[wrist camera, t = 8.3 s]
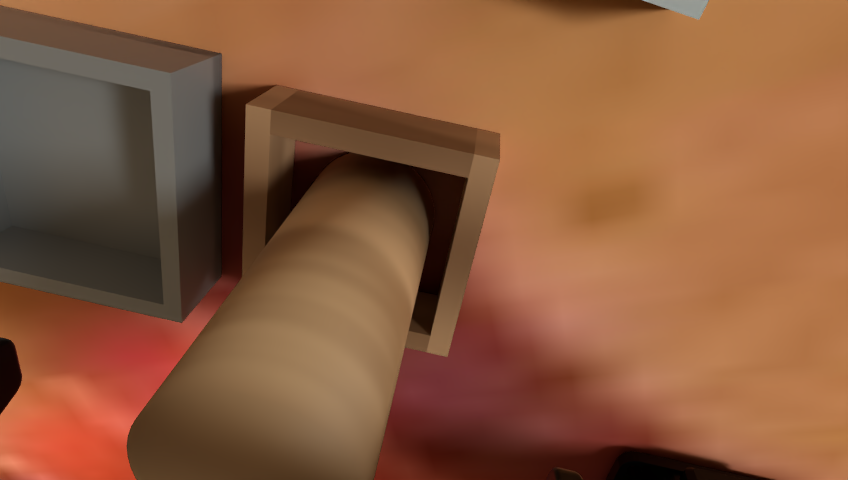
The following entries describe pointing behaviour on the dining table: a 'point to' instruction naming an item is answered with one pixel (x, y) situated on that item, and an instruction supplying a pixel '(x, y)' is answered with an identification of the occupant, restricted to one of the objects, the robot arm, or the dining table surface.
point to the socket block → (381, 138)
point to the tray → (109, 165)
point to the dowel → (300, 342)
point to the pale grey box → (683, 6)
